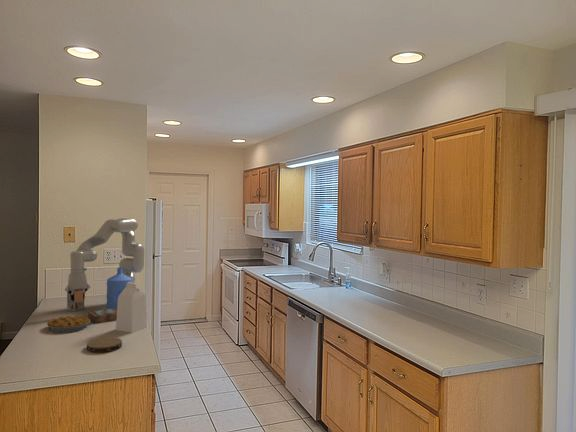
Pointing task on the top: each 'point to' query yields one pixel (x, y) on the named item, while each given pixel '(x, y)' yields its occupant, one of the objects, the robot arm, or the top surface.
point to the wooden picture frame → (103, 315)
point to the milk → (131, 309)
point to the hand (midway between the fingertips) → (77, 299)
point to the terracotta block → (78, 295)
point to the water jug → (116, 288)
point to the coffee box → (73, 304)
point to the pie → (68, 323)
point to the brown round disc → (104, 345)
